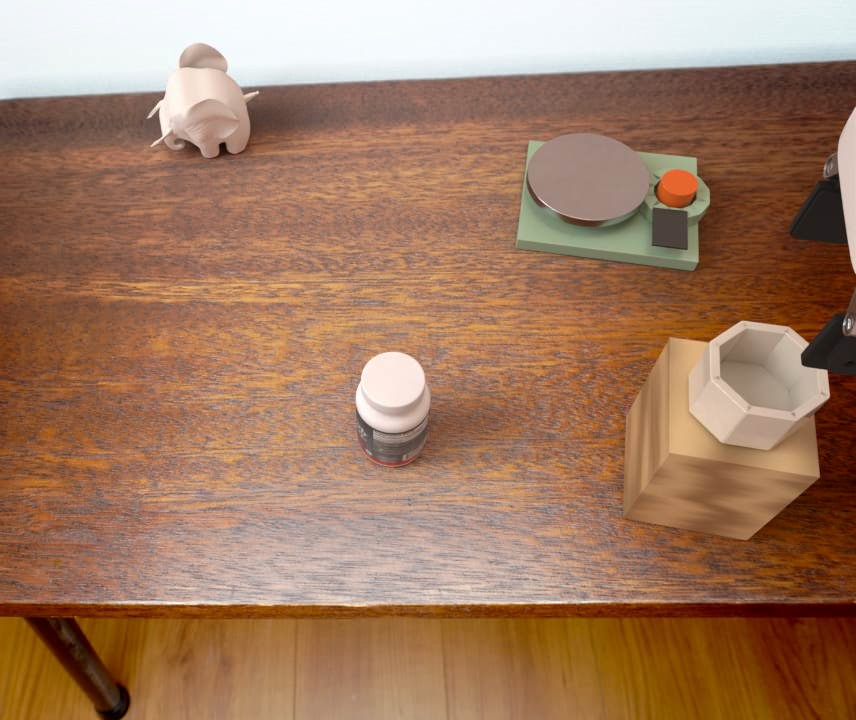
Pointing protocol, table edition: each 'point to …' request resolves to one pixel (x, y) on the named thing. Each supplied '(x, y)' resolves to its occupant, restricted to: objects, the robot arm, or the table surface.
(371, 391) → the pill bottle
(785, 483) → the stand
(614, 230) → the scale
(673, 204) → the tare button
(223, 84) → the elephant figurine
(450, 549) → the table surface
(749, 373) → the bowl
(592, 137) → the scale pan
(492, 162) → the table surface
